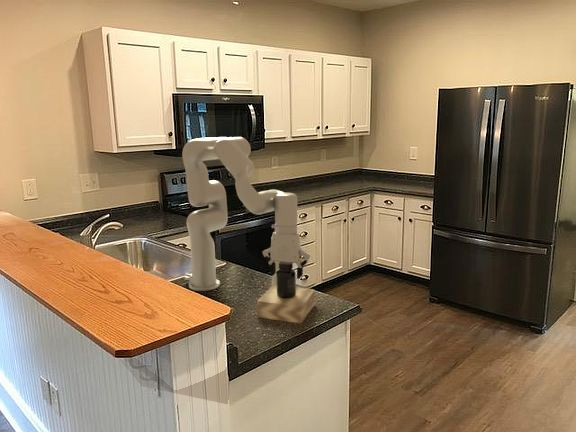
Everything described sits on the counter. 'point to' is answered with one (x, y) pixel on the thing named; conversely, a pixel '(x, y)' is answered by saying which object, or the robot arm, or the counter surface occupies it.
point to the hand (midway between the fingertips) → (286, 276)
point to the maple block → (286, 305)
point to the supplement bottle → (286, 280)
